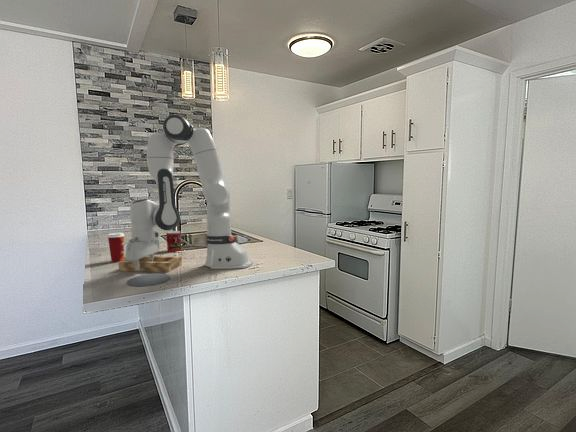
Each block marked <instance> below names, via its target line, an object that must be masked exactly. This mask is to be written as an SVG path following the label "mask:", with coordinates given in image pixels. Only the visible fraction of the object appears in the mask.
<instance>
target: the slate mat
mask: <svg viewBox="0 0 576 432" xmlns="http://www.w3.org/2000/svg"><path fill="white" fill-rule="evenodd" d="M170 279H171V275H170V274H167V273H158V272H157V273H147V274H141V275H138V276H133V277H132V278H129V279H128V280H127V281H126V284H127V285H128V286H130V287H150V286H156V285H160V284H163V283H166V282H168V281H169V280H170Z"/></svg>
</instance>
